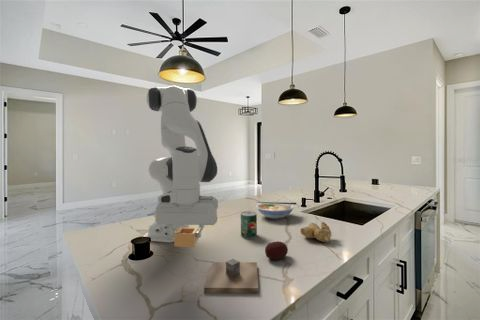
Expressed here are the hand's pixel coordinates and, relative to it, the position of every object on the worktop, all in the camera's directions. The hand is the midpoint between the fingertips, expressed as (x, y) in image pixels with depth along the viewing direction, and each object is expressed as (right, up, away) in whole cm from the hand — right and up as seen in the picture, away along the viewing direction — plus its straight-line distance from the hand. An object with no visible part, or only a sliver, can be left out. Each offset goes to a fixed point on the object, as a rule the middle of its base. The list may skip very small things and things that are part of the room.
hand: (186, 236), depth 79 cm
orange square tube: (0, -2, 0) cm, 2 cm away
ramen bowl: (+39, -10, +68) cm, 79 cm away
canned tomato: (+22, -12, +37) cm, 45 cm away
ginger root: (+54, -12, +32) cm, 64 cm away
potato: (+32, -13, +13) cm, 37 cm away
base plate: (+15, -13, -1) cm, 20 cm away
